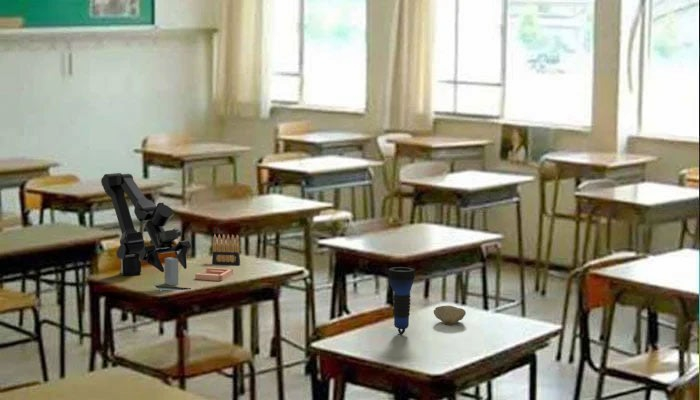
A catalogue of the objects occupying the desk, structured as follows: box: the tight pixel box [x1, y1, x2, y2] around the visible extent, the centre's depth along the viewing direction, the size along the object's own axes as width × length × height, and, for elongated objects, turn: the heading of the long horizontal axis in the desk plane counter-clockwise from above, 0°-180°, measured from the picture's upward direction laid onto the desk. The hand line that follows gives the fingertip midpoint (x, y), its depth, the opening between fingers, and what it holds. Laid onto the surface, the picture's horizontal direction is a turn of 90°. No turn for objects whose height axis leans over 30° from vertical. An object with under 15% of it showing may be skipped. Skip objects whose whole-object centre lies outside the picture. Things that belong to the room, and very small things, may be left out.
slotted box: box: [194, 267, 234, 282], centre depth 423 cm, size 10×12×3 cm
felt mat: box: [155, 285, 192, 292], centre depth 409 cm, size 11×9×1 cm
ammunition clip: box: [211, 233, 241, 266], centre depth 449 cm, size 11×2×12 cm, turn 84°
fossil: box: [433, 305, 466, 326], centre depth 363 cm, size 9×4×10 cm
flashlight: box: [387, 266, 416, 335], centre depth 350 cm, size 8×8×20 cm
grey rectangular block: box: [164, 256, 179, 288], centre depth 409 cm, size 4×3×10 cm
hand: (174, 269), depth 407 cm, fingers open, 9 cm apart
